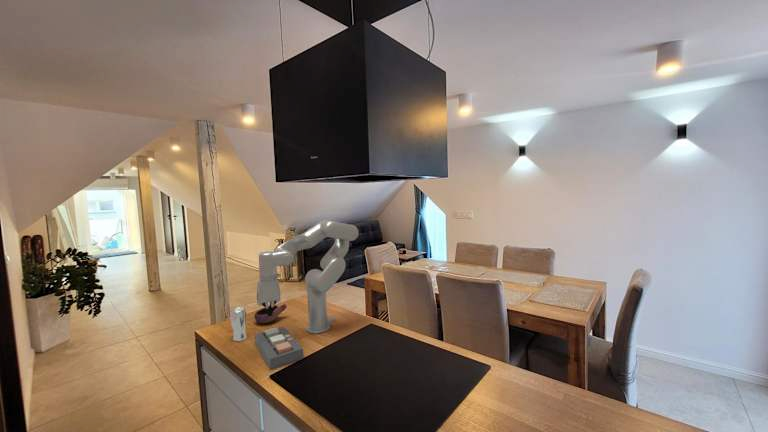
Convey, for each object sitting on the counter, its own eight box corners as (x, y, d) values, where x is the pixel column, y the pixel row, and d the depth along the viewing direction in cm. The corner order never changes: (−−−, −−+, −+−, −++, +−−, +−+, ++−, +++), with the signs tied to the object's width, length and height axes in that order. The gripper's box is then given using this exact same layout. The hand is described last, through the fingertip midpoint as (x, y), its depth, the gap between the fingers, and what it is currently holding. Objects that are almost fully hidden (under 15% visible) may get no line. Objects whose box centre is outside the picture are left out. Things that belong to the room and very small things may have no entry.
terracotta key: (287, 347, 141) (287, 341, 141) (291, 352, 137) (291, 346, 136) (275, 351, 138) (274, 345, 138) (278, 357, 133) (278, 350, 133)
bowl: (265, 328, 169) (264, 314, 168) (250, 323, 175) (249, 309, 175) (288, 317, 182) (288, 304, 181) (274, 313, 189) (273, 300, 188)
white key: (281, 340, 149) (281, 333, 148) (285, 344, 144) (285, 338, 144) (269, 343, 145) (269, 337, 145) (273, 348, 141) (272, 342, 141)
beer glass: (241, 342, 154) (239, 312, 153) (229, 341, 155) (226, 311, 154) (250, 335, 161) (248, 307, 159) (238, 334, 162) (236, 306, 161)
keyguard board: (284, 334, 160) (283, 326, 160) (303, 358, 137) (302, 348, 137) (255, 343, 153) (254, 333, 152) (270, 369, 130) (269, 358, 129)
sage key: (276, 333, 156) (276, 327, 156) (279, 337, 151) (279, 331, 151) (264, 336, 153) (264, 330, 153) (267, 340, 148) (267, 334, 148)
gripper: (281, 273, 157) (282, 309, 158) (249, 278, 148) (251, 316, 150) (286, 276, 151) (287, 314, 152) (253, 282, 142) (254, 321, 144)
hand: (269, 315), depth 151 cm, fingers closed
